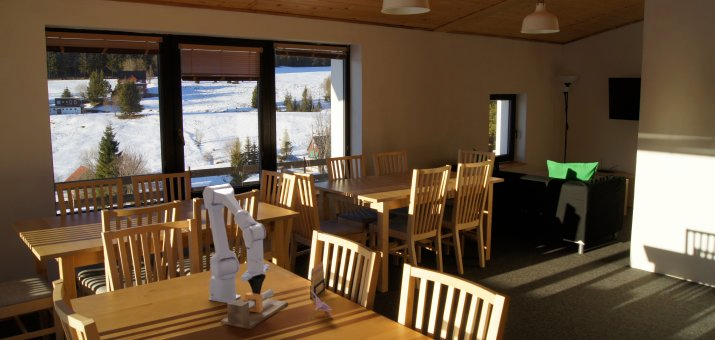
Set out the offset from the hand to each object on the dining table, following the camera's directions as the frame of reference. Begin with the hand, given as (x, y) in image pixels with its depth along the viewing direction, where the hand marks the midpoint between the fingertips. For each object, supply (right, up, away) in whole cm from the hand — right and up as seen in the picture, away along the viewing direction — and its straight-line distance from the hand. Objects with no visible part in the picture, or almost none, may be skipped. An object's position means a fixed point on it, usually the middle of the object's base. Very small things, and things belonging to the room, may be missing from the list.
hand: (256, 295), depth 213 cm
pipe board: (0, -7, 0) cm, 7 cm away
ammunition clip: (+21, -4, +19) cm, 28 cm away
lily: (+23, -7, -4) cm, 25 cm away
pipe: (0, -3, +1) cm, 3 cm away
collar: (-1, -5, -1) cm, 5 cm away
